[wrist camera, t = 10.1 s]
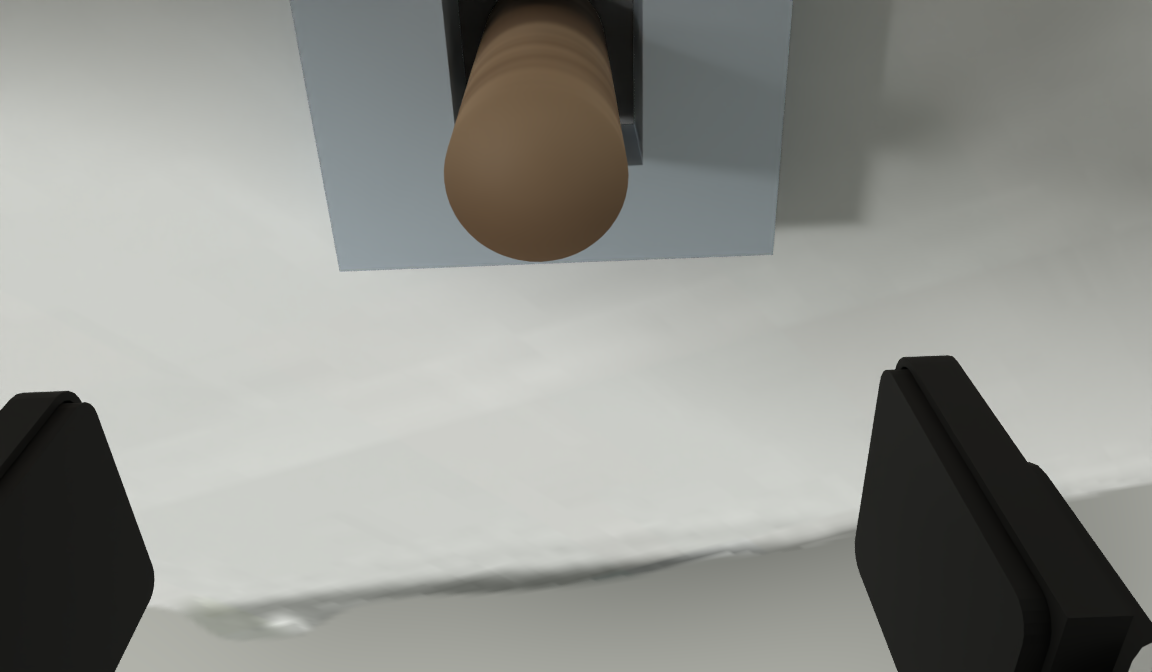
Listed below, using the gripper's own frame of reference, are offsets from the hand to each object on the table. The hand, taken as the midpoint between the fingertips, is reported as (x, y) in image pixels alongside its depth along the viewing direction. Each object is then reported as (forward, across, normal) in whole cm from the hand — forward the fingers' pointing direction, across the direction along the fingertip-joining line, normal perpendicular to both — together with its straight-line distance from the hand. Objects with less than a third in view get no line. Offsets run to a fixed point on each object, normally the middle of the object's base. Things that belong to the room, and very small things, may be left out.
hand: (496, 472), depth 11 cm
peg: (+22, 0, 0) cm, 22 cm away
